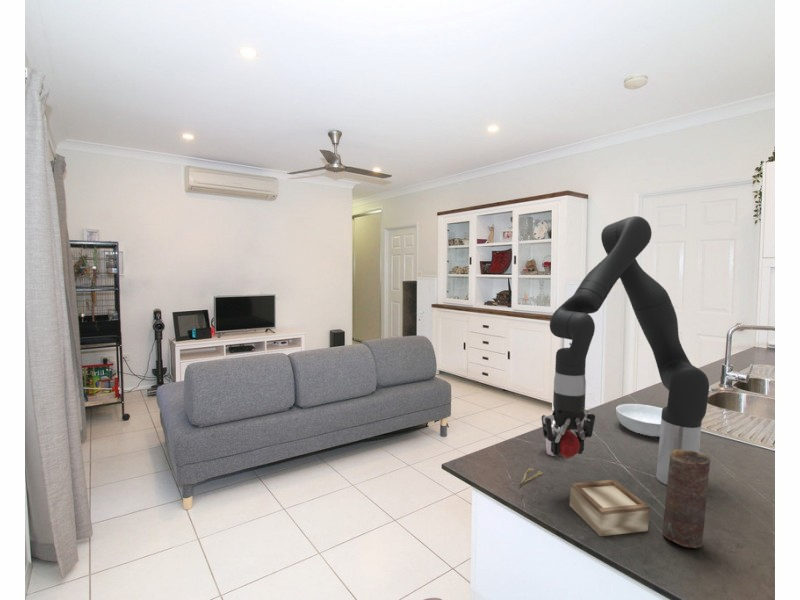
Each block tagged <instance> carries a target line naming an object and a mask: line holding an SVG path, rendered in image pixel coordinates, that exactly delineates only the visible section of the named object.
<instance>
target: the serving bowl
mask: <svg viewBox="0 0 800 600" xmlns="http://www.w3.org/2000/svg"><path fill="white" fill-rule="evenodd" d="M663 408H664V407H663ZM663 408H662V407H659V406H653V405H647V404H640V403H623V404H619V405H617V406H616V408H615V411H616V413H615V414H616V417H617V419H618V421H619V423H620V424H621V425H622V426H624V427H625V428H626V429H628V430H630V431H632V432H634V433H636V434H639V433H640V435H642V434H643V435H642V436H646V435H647V436H646V437H654V436H655V437H658V438H660V427H661V415H662V409H663Z"/></svg>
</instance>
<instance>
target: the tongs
mask: <svg viewBox="0 0 800 600" xmlns="http://www.w3.org/2000/svg"><path fill="white" fill-rule="evenodd" d="M531 470H532V471H535V468H530V467H529V468H527V471H525V473H524V475H523V477H522V480H521V482H520V483H519V484H518V485H517V489H521V487H522V486H524V485H525V484H527V483H528V482H530V481H532V480H534V479H535V477H536V478H537V477H539V476H541V475H543V474H544V472H542V471H540V470H538V472H537V473H536V474H535V473H534V475H532V476H531V477H529V478H528V479H526V478H527V476H528V474H529V472H531ZM528 471H529V472H528ZM527 472H528V473H527ZM540 472H541V473H540ZM526 475H527V476H526ZM523 481H524V482H523Z"/></svg>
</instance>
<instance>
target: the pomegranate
mask: <svg viewBox="0 0 800 600" xmlns="http://www.w3.org/2000/svg"><path fill="white" fill-rule="evenodd" d="M559 443H560V455H561V456H562V457H564V458H565V459H570V458H573V457H574V456H575V455H577V454H578V451H579V448H580V443H579V440H578V438H577V436H576V435H575V433H574V432H572V431H571V429H570V430H566V431H565V433H564V435H562V436H561V438H560V441H559Z"/></svg>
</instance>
